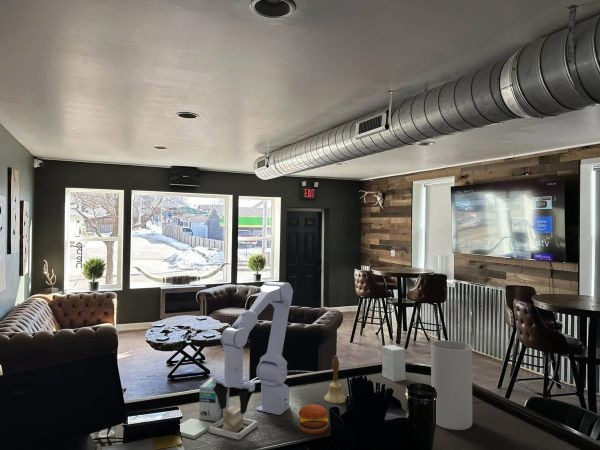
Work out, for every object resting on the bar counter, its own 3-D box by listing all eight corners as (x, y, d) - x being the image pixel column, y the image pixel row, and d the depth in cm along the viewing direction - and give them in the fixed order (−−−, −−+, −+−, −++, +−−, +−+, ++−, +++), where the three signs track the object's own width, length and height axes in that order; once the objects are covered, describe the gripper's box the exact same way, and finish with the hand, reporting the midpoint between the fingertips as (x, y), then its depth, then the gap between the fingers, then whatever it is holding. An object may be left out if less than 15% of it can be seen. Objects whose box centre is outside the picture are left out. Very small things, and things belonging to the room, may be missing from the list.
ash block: (243, 427, 134) (243, 407, 134) (233, 433, 129) (234, 413, 129) (232, 424, 135) (232, 405, 136) (223, 431, 131) (223, 411, 131)
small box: (405, 380, 178) (405, 348, 179) (393, 382, 176) (393, 350, 176) (393, 374, 186) (393, 344, 186) (381, 376, 183) (381, 345, 183)
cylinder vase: (473, 434, 129) (472, 351, 130) (430, 427, 134) (430, 347, 134) (471, 417, 141) (471, 342, 142) (432, 412, 146) (432, 339, 146)
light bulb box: (217, 422, 137) (218, 388, 138) (198, 420, 139) (198, 386, 139) (229, 408, 148) (229, 377, 148) (211, 407, 149) (211, 376, 149)
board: (213, 426, 134) (213, 423, 134) (194, 438, 126) (194, 435, 126) (190, 421, 138) (190, 418, 138) (171, 432, 129) (171, 429, 129)
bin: (257, 425, 134) (257, 421, 134) (239, 439, 125) (239, 434, 125) (227, 419, 139) (227, 414, 139) (208, 432, 130) (208, 427, 130)
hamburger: (330, 433, 130) (330, 411, 130) (299, 435, 129) (299, 413, 129) (326, 420, 139) (326, 399, 139) (296, 421, 138) (296, 401, 138)
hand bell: (351, 400, 156) (351, 356, 156) (333, 405, 151) (333, 360, 152) (336, 393, 163) (337, 351, 163) (319, 398, 158) (319, 354, 158)
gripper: (207, 366, 132) (206, 410, 132) (246, 373, 126) (245, 419, 126) (220, 361, 139) (220, 403, 138) (258, 367, 132) (258, 411, 132)
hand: (233, 410), depth 132 cm, fingers open, 7 cm apart
